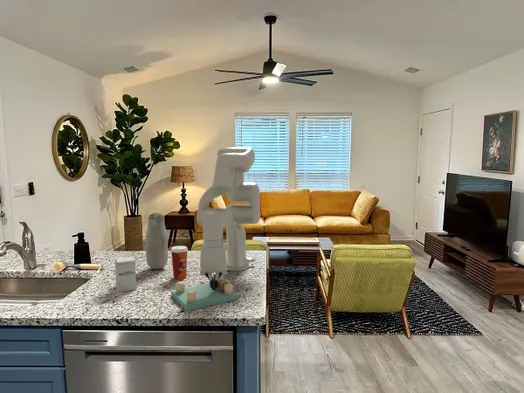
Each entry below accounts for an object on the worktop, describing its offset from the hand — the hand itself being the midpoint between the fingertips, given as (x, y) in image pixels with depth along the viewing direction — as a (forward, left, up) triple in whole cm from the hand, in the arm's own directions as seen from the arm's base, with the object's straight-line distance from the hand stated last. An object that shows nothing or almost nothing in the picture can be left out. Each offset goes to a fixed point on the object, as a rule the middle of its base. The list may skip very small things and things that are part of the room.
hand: (213, 289), depth 143 cm
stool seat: (+3, -1, -3) cm, 5 cm away
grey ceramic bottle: (+8, -49, -3) cm, 50 cm away
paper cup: (+3, -30, -3) cm, 31 cm away
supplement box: (+27, -28, -3) cm, 40 cm away
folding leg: (-4, -3, -1) cm, 5 cm away
